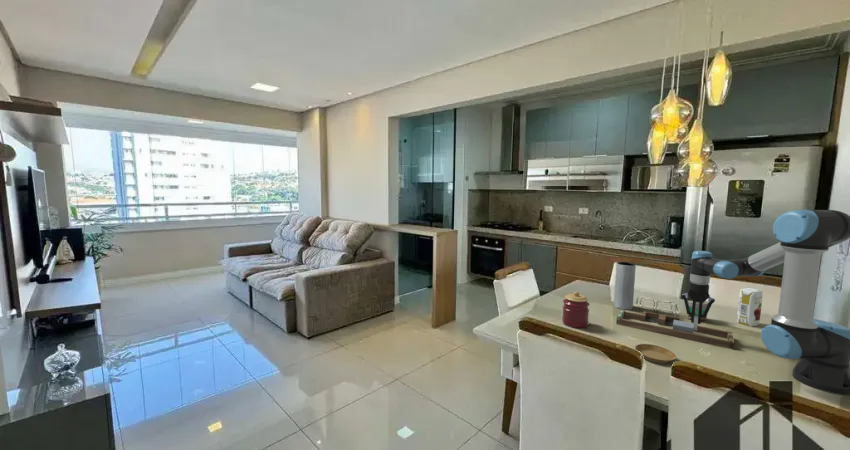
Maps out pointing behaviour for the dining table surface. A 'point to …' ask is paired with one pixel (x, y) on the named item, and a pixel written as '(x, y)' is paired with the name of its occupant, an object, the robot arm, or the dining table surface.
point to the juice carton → (749, 306)
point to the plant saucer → (656, 353)
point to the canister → (575, 310)
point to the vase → (624, 285)
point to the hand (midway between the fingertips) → (695, 329)
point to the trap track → (676, 333)
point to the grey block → (683, 326)
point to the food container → (698, 310)
